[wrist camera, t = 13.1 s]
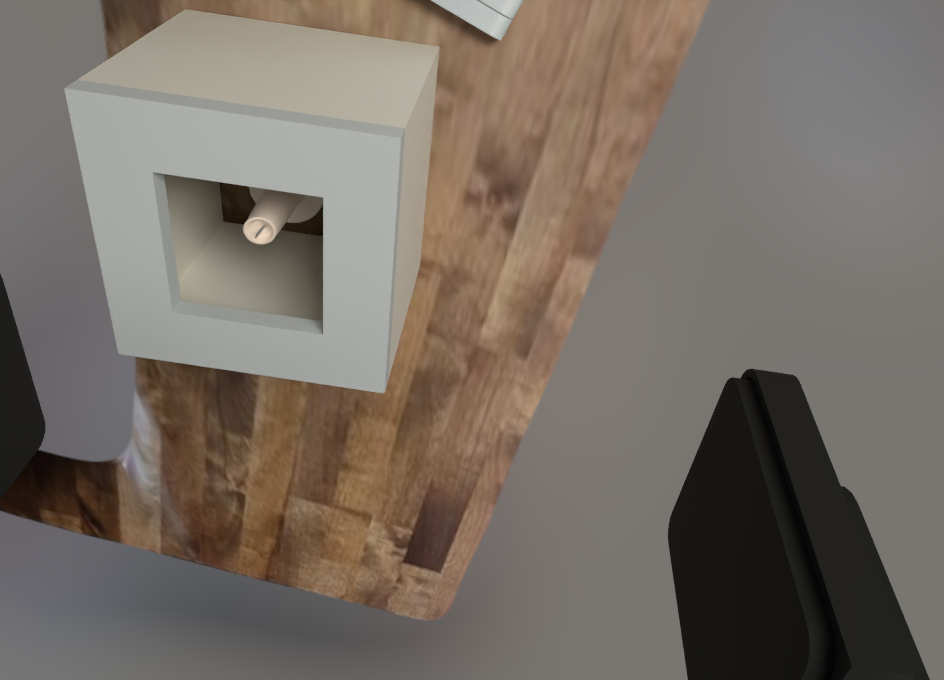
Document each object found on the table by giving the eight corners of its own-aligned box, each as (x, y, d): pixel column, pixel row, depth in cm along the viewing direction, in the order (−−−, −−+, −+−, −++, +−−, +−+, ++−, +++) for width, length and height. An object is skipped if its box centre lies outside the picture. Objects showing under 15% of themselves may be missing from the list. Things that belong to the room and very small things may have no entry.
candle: (368, 117, 42) (321, 205, 33) (349, 200, 45) (302, 299, 36) (273, 86, 41) (201, 168, 33) (260, 172, 44) (192, 267, 36)
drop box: (185, 9, 39) (64, 88, 29) (439, 46, 39) (400, 138, 29) (208, 233, 47) (118, 353, 37) (420, 265, 47) (384, 393, 37)
